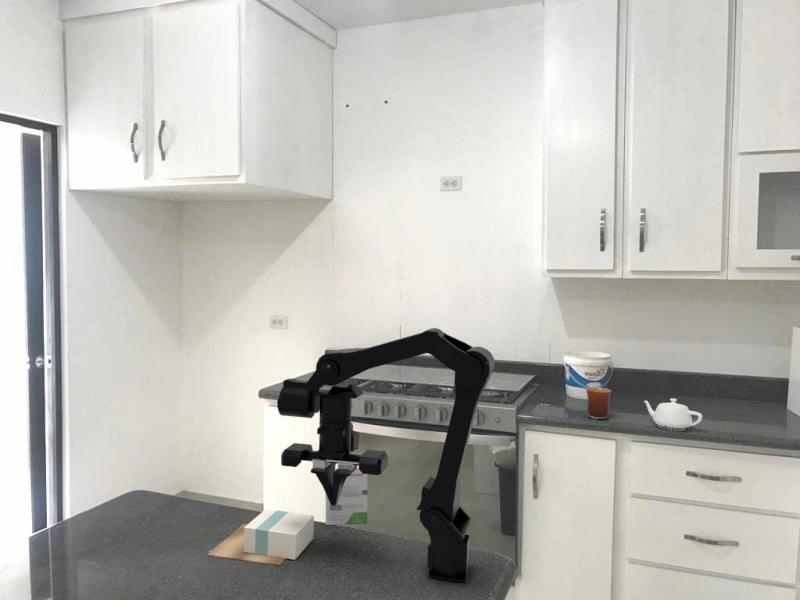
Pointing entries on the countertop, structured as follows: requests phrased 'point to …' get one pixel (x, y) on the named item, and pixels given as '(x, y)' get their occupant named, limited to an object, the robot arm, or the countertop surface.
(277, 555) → the carton
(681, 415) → the teapot
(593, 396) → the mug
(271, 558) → the board
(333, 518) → the ink box
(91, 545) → the countertop surface
